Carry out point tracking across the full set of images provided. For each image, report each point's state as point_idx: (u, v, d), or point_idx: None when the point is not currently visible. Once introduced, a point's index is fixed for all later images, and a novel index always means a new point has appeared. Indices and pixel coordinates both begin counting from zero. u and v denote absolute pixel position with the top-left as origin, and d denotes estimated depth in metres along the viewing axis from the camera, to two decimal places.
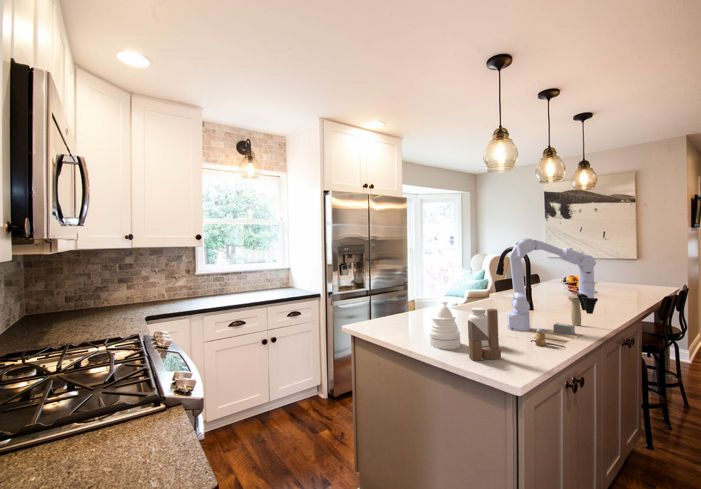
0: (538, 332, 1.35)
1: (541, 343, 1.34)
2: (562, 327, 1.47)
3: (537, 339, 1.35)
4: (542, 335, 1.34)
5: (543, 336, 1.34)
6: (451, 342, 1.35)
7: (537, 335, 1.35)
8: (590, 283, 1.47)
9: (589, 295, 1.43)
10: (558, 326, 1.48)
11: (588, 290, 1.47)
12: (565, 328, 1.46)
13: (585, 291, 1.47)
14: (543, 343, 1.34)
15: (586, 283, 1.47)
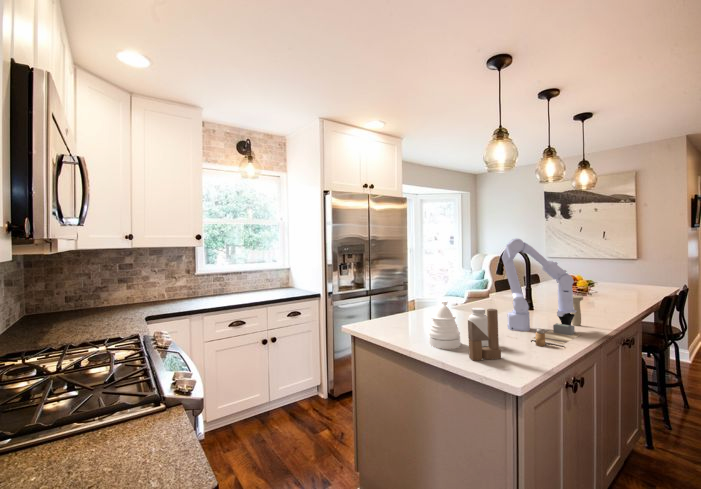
0: (538, 332, 1.35)
1: (541, 343, 1.34)
2: (562, 327, 1.47)
3: (537, 339, 1.35)
4: (542, 335, 1.34)
5: (543, 336, 1.34)
6: (451, 342, 1.35)
7: (537, 335, 1.35)
8: (565, 302, 1.48)
9: (557, 313, 1.46)
10: (558, 326, 1.48)
11: (563, 308, 1.48)
12: (565, 328, 1.46)
13: (560, 309, 1.49)
14: (543, 343, 1.34)
15: (561, 301, 1.49)
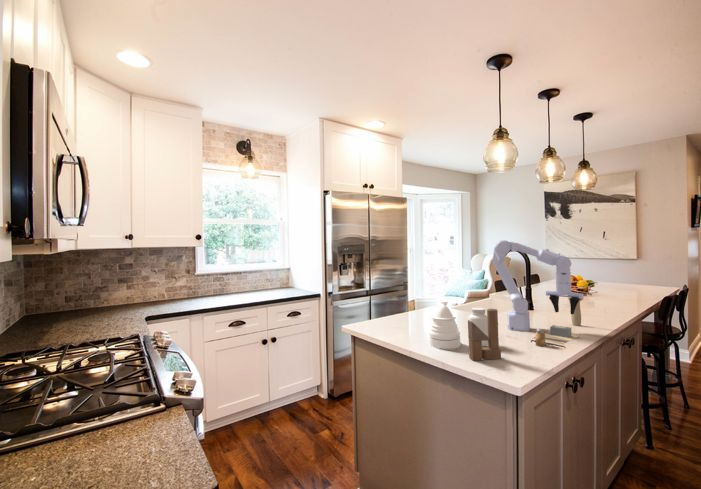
0: (538, 332, 1.35)
1: (541, 343, 1.34)
2: (559, 329, 1.43)
3: (537, 339, 1.35)
4: (542, 335, 1.34)
5: (543, 336, 1.34)
6: (451, 342, 1.35)
7: (537, 335, 1.35)
8: (570, 284, 1.48)
9: (582, 295, 1.43)
10: (555, 328, 1.45)
11: None
12: (562, 330, 1.43)
13: (569, 292, 1.47)
14: (543, 343, 1.34)
15: (570, 284, 1.47)
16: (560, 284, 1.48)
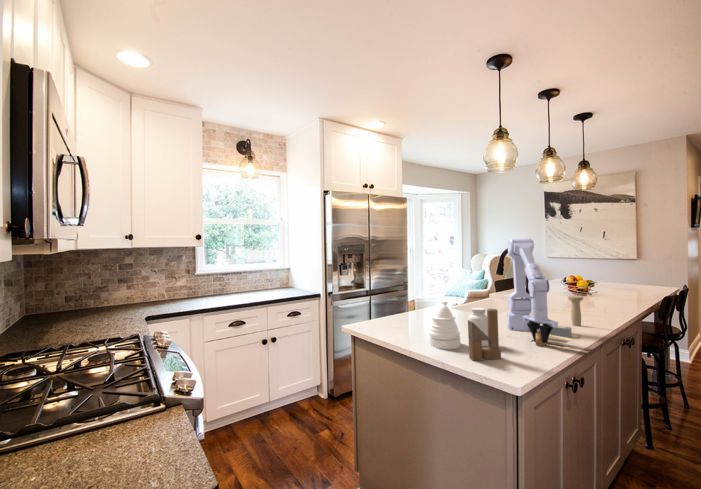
0: (538, 332, 1.35)
1: (541, 342, 1.34)
2: (559, 329, 1.43)
3: (537, 339, 1.35)
4: None
5: None
6: (451, 342, 1.35)
7: (537, 335, 1.35)
8: (546, 310, 1.34)
9: (555, 324, 1.29)
10: (555, 328, 1.45)
11: (546, 318, 1.33)
12: (562, 330, 1.43)
13: (543, 319, 1.33)
14: (543, 343, 1.34)
15: (544, 310, 1.33)
16: (533, 309, 1.35)
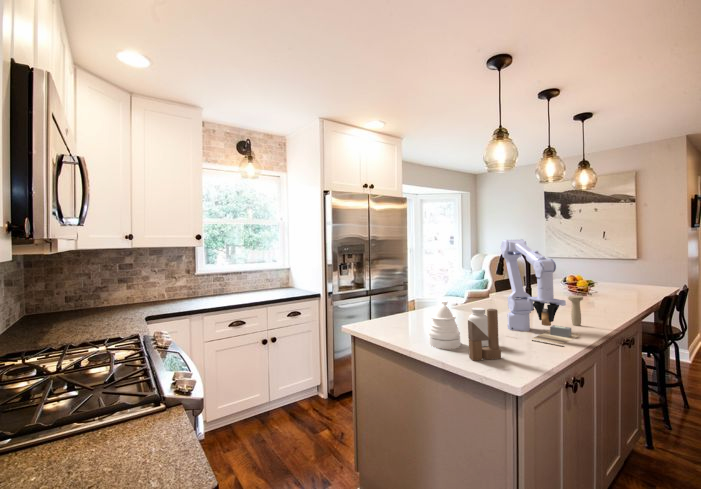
0: (544, 312, 1.38)
1: (548, 322, 1.37)
2: (559, 329, 1.43)
3: (544, 319, 1.38)
4: None
5: None
6: (451, 342, 1.35)
7: (544, 315, 1.38)
8: None
9: (563, 302, 1.32)
10: (555, 328, 1.45)
11: (552, 297, 1.36)
12: (562, 330, 1.43)
13: (551, 298, 1.36)
14: (549, 322, 1.37)
15: (551, 290, 1.36)
16: (541, 290, 1.37)
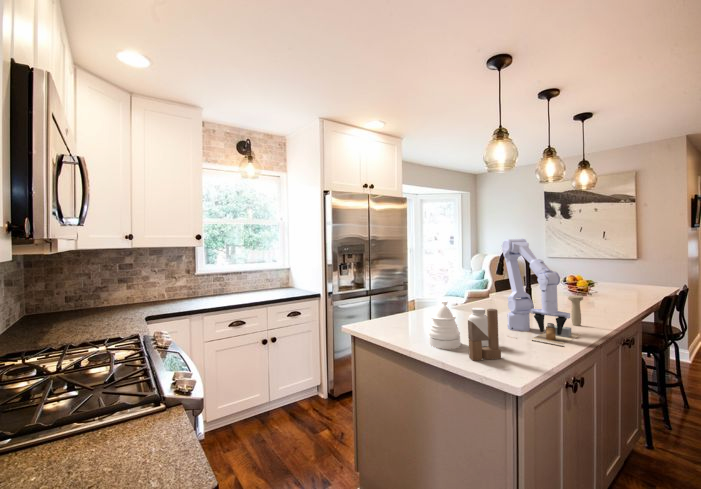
0: (549, 326, 1.39)
1: (553, 336, 1.38)
2: None
3: (549, 333, 1.39)
4: (554, 329, 1.38)
5: (554, 330, 1.38)
6: (451, 342, 1.35)
7: (549, 329, 1.39)
8: None
9: (568, 315, 1.34)
10: (555, 328, 1.45)
11: (557, 310, 1.38)
12: (562, 330, 1.43)
13: (555, 311, 1.37)
14: (554, 337, 1.38)
15: (556, 302, 1.37)
16: (546, 302, 1.38)
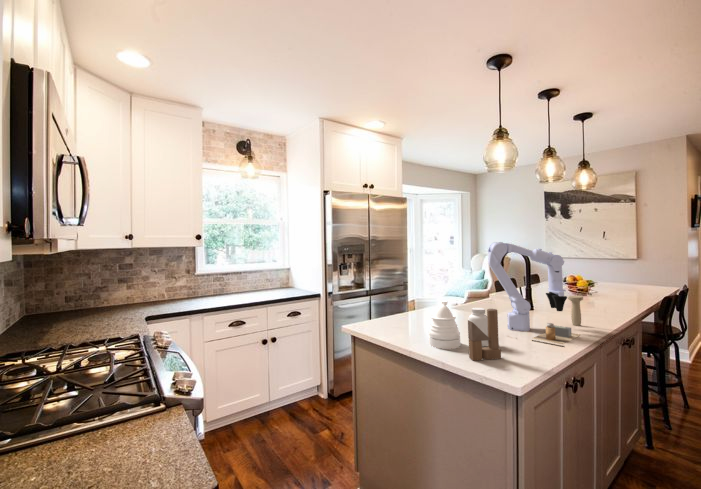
0: (549, 326, 1.39)
1: (553, 336, 1.38)
2: (559, 329, 1.43)
3: (548, 333, 1.39)
4: (553, 329, 1.38)
5: (554, 330, 1.38)
6: (451, 342, 1.35)
7: (548, 329, 1.39)
8: (559, 282, 1.52)
9: (560, 293, 1.48)
10: (555, 328, 1.45)
11: (558, 288, 1.52)
12: (562, 330, 1.43)
13: (555, 289, 1.52)
14: (554, 337, 1.38)
15: (556, 282, 1.52)
16: (548, 281, 1.56)
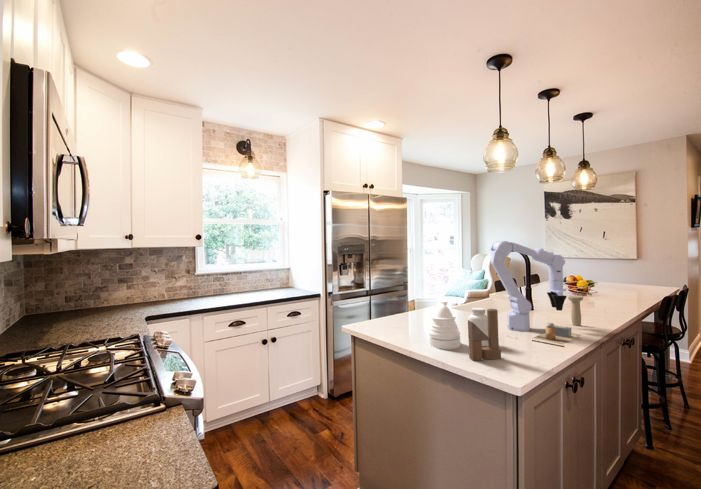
0: (549, 326, 1.39)
1: (553, 336, 1.38)
2: (559, 329, 1.43)
3: (548, 333, 1.39)
4: (553, 329, 1.38)
5: (554, 330, 1.38)
6: (451, 342, 1.35)
7: (548, 329, 1.39)
8: (559, 281, 1.54)
9: (559, 293, 1.50)
10: (555, 328, 1.45)
11: (557, 288, 1.54)
12: (562, 330, 1.43)
13: (555, 289, 1.54)
14: (554, 337, 1.38)
15: (556, 281, 1.54)
16: (549, 281, 1.58)
